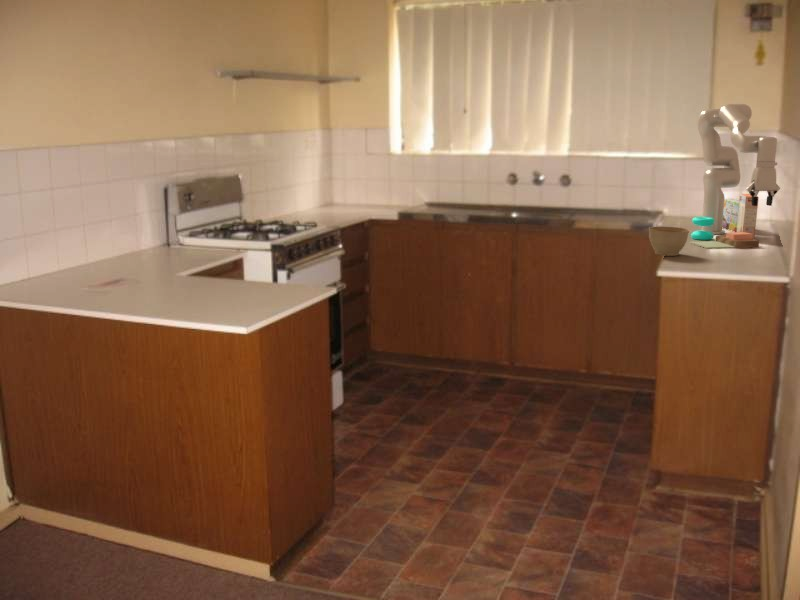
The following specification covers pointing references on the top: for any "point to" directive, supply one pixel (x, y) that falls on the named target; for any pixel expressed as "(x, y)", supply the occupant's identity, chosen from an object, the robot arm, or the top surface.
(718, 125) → the robot arm
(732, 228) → the snack box
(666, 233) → the planter bowl
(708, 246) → the sage mat
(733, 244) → the board
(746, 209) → the cracker box
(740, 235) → the coral block
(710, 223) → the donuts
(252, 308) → the top surface
